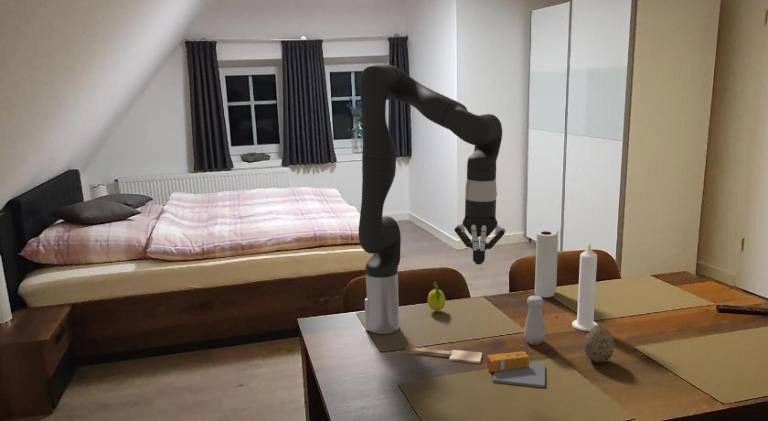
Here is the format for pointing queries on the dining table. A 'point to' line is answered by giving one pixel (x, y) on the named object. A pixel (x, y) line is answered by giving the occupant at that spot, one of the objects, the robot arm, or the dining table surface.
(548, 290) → the paper towel roll
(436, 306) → the lemon
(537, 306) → the salt shaker
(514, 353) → the supplement box
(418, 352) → the turner
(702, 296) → the dining table surface
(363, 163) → the robot arm
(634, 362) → the dining table surface
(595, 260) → the candle
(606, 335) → the decorative egg
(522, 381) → the mat
